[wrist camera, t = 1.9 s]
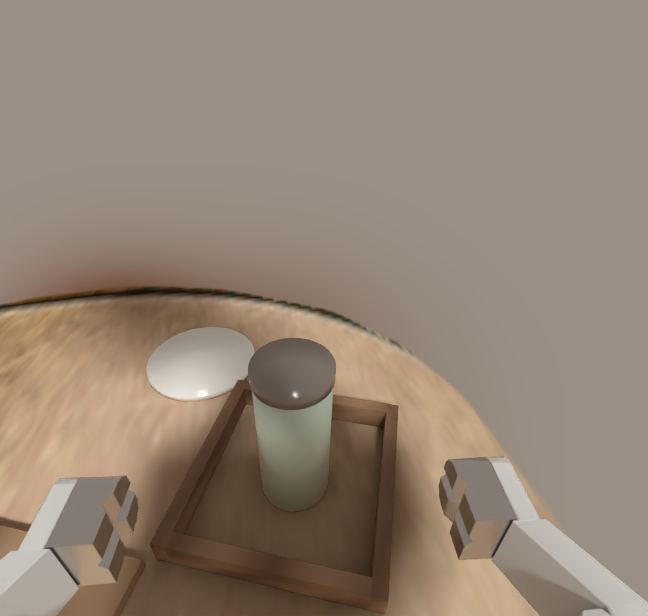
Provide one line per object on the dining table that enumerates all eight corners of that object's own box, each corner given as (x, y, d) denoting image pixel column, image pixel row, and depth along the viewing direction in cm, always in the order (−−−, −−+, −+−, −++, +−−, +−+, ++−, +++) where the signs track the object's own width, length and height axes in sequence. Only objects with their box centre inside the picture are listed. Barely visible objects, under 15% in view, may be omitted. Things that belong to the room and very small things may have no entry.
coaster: (124, 391, 38) (123, 386, 38) (180, 325, 47) (179, 321, 47) (232, 410, 37) (231, 405, 36) (268, 338, 46) (268, 334, 45)
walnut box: (156, 559, 26) (149, 544, 25) (239, 394, 38) (237, 379, 37) (384, 614, 24) (388, 600, 23) (395, 420, 36) (398, 405, 35)
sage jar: (250, 504, 29) (234, 389, 22) (272, 444, 34) (264, 333, 27) (322, 519, 28) (327, 404, 22) (334, 455, 33) (342, 344, 26)
